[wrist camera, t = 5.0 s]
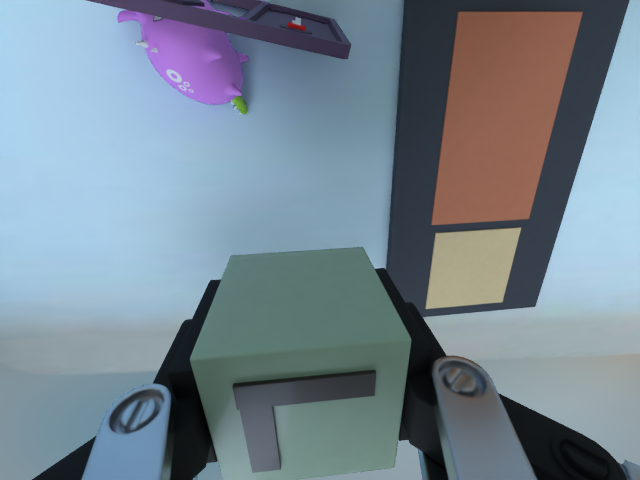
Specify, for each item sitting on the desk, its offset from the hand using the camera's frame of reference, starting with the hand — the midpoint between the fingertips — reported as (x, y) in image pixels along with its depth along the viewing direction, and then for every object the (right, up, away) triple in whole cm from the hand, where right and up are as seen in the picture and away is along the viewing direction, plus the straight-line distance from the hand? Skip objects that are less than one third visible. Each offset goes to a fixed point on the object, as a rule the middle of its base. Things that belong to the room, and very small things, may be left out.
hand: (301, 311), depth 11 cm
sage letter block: (0, 0, 0) cm, 0 cm away
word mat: (+10, +9, +6) cm, 15 cm away
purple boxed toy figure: (-4, +11, +3) cm, 12 cm away
